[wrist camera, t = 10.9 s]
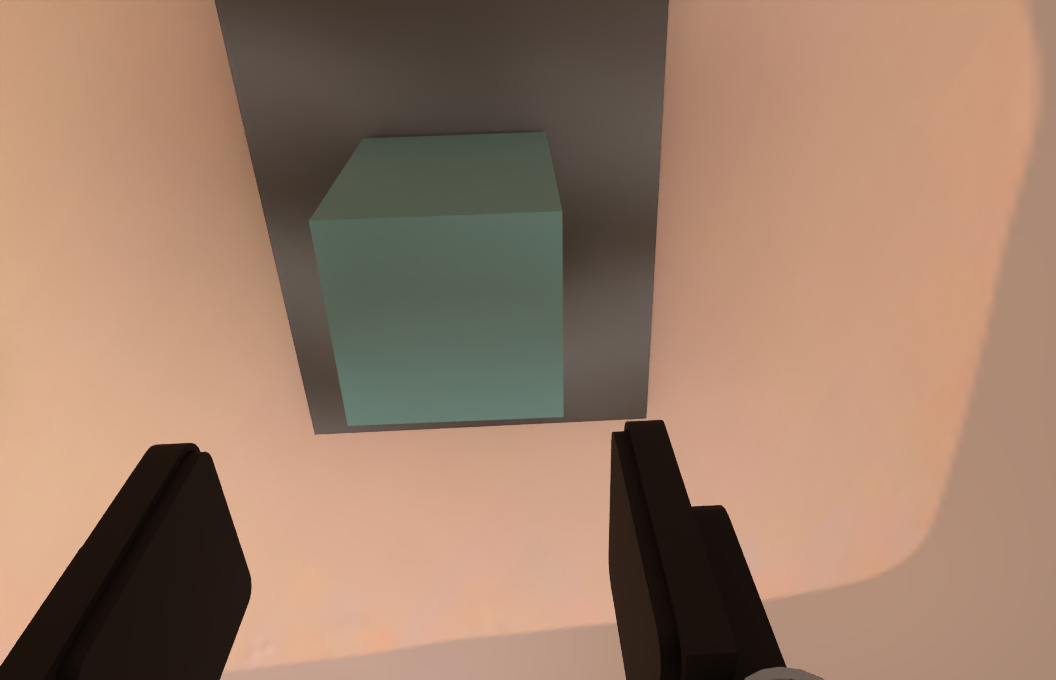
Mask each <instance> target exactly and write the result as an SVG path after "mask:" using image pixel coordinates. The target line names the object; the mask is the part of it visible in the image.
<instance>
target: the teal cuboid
mask: <svg viewBox="0 0 1056 680" xmlns="http://www.w3.org/2000/svg"><path fill="white" fill-rule="evenodd" d="M309 225H310V230H311V235H312V240H313V246H314V251H315V256H316V261H317V267H318V272H319V277H320V283H321V288H322V293H323V298H324V304H325V309H326V314H327V319H328V325H329V330H330V335H331V340H332V346H333V351H334V356H335V362H336V367H337V372H338V377H339V383H340V388H341V393H342V398H343V404H344V409H345V414H346V419H347V425H348V426H358V425H382V424H406V423H430V422H455V421H479V420H503V419H527V418H552V417H564V413H563V224H562V207H561V202H560V197H559V192H558V188H557V183H556V178H555V173H554V168H553V163H552V159H551V154H550V149H549V144H548V139H547V134H546V132H523V133H495V134H468V135H441V136H414V137H386V138H363V139H362V141H361V142H360V144H359V145H358V147H357V148H356V150H355V151H354V153H353V154H352V156H351V157H350V159H349V160H348V162H347V163H346V165H345V166H344V168H343V170H342V171H341V173H340V174H339V176H338V177H337V179H336V180H335V182H334V183H333V185H332V186H331V188H330V189H329V191H328V192H327V194H326V195H325V197H324V199H323V200H322V202H321V203H320V205H319V206H318V208H317V209H316V211H315V212H314V214H313V215H312V217H311V218H310V220H309Z"/></svg>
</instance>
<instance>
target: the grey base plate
mask: <svg viewBox="0 0 1056 680" xmlns="http://www.w3.org/2000/svg"><path fill="white" fill-rule="evenodd" d="M668 3H669V0H215V4H216V8H217V12H218V17H219V21H220V25H221V30H222V34H223V38H224V43H225V47H226V51H227V56H228V60H229V64H230V69H231V73H232V77H233V82H234V86H235V90H236V95H237V99H238V103H239V108H240V112H241V116H242V121H243V125H244V129H245V134H246V138H247V142H248V147H249V151H250V155H251V160H252V164H253V168H254V173H255V177H256V181H257V186H258V190H259V194H260V199H261V203H262V207H263V211H264V216H265V220H266V224H267V229H268V233H269V237H270V242H271V246H272V250H273V255H274V259H275V263H276V268H277V272H278V276H279V281H280V285H281V289H282V294H283V298H284V302H285V307H286V311H287V315H288V320H289V324H290V328H291V333H292V337H293V341H294V346H295V350H296V354H297V359H298V363H299V367H300V372H301V376H302V380H303V385H304V389H305V393H306V398H307V402H308V406H309V410H310V415H311V419H312V423H313V428H314V432H315V435H316V434H337V433H357V432H378V431H398V430H419V429H439V428H460V427H480V426H501V425H521V424H542V423H562V422H582V421H603V420H623V419H644V418H646V414H647V395H648V376H649V358H650V339H651V320H652V302H653V283H654V264H655V246H656V227H657V209H658V190H659V171H660V153H661V134H662V115H663V97H664V78H665V59H666V41H667V22H668ZM523 132H546V134H547V139H548V144H549V149H550V154H551V159H552V163H553V168H554V173H555V178H556V183H557V188H558V192H559V197H560V202H561V207H562V224H563V413H564V417H552V418H527V419H503V420H479V421H455V422H430V423H406V424H382V425H358V426H348V425H347V419H346V414H345V409H344V404H343V398H342V393H341V388H340V383H339V377H338V372H337V367H336V362H335V356H334V351H333V346H332V340H331V335H330V330H329V325H328V319H327V314H326V309H325V304H324V298H323V293H322V288H321V283H320V277H319V272H318V267H317V261H316V256H315V251H314V246H313V240H312V235H311V230H310V225H309V220H310V218H311V217H312V215H313V214H314V212H315V211H316V209H317V208H318V206H319V205H320V203H321V202H322V200H323V199H324V197H325V195H326V194H327V192H328V191H329V189H330V188H331V186H332V185H333V183H334V182H335V180H336V179H337V177H338V176H339V174H340V173H341V171H342V170H343V168H344V166H345V165H346V163H347V162H348V160H349V159H350V157H351V156H352V154H353V153H354V151H355V150H356V148H357V147H358V145H359V144H360V142H361V141H362V139H363V138H386V137H414V136H441V135H468V134H495V133H523Z"/></svg>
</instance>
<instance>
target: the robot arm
mask: <svg viewBox="0 0 1056 680" xmlns="http://www.w3.org/2000/svg"><path fill="white" fill-rule="evenodd" d="M609 574H610V583H611V589H612V595H613V601H614V607H615V613H616V620H617V626H618V632H619V638H620V644H621V650H622V656H623V662H624V669H625V675H626V680H824V679H823V678H821V677H819V676H816V675H814V674H811V673H808V672H805V671H803V670H801V669H793V668H787V667H786V665H785V662H784V659H783V657H782V654H781V652H780V649H779V646H778V644H777V641H776V639H775V636H774V633H773V631H772V628H771V626H770V623H769V620H768V618H767V615H766V612H765V610H764V607H763V604H762V602H761V599H760V597H759V594H758V591H757V589H756V586H755V583H754V581H753V578H752V576H751V573H750V570H749V568H748V565H747V563H746V560H745V557H744V555H743V552H742V549H741V547H740V544H739V542H738V539H737V536H736V534H735V531H734V528H733V526H732V523H731V521H730V518H729V516H728V514H727V512H726V510H725V508H724V507H723V506H722V505H714V506H694V507H691V504H690V501H689V498H688V495H687V492H686V489H685V485H684V482H683V479H682V476H681V473H680V470H679V467H678V464H677V461H676V458H675V455H674V451H673V448H672V445H671V442H670V439H669V436H668V433H667V430H666V427H665V424H664V422H663V421H662V420H649V421H629V422H626V423H625V427H624V431H621V432H612V440H611V481H610V522H609ZM250 595H251V577H250V573H249V570H248V567H247V564H246V561H245V557H244V554H243V551H242V548H241V545H240V542H239V539H238V536H237V533H236V530H235V527H234V524H233V521H232V518H231V515H230V512H229V509H228V506H227V502H226V499H225V496H224V493H223V490H222V487H221V484H220V481H219V478H218V475H217V472H216V469H215V466H214V463H213V460H212V457H211V455H210V454H209V453H207V452H200V450H199V448H198V447H197V446H196V444H193V443H180V444H159V445H153V446H151V447H150V448H149V449H148V450H147V451H146V453H145V454H144V456H143V457H142V459H141V460H140V462H139V463H138V465H137V466H136V468H135V469H134V471H133V472H132V474H131V475H130V477H129V478H128V480H127V481H126V482H125V484H124V485H123V487H122V488H121V490H120V491H119V493H118V494H117V496H116V497H115V499H114V500H113V502H112V503H111V505H110V506H109V508H108V509H107V511H106V512H105V514H104V515H103V517H102V518H101V519H100V521H99V522H98V524H97V525H96V527H95V528H94V530H93V531H92V533H91V534H90V536H89V537H88V539H87V540H86V542H85V543H84V545H83V546H82V547H81V548H80V549H79V551H78V552H77V554H76V555H75V557H74V558H73V560H72V561H71V563H70V564H69V566H68V567H67V569H66V570H65V571H64V573H63V574H62V576H61V577H60V579H59V580H58V582H57V583H56V585H55V586H54V588H53V589H52V591H51V592H50V594H49V595H48V597H47V598H46V600H45V601H44V602H43V604H42V605H41V607H40V608H39V610H38V611H37V613H36V614H35V616H34V617H33V619H32V620H31V622H30V623H29V625H28V626H27V628H26V629H25V631H24V632H23V634H22V635H21V636H20V638H19V639H18V641H17V642H16V644H15V645H14V647H13V648H12V650H11V651H10V653H9V654H8V656H7V657H6V659H5V660H4V662H3V663H2V665H1V666H0V680H220V678H221V675H222V672H223V670H224V667H225V664H226V662H227V659H228V656H229V654H230V651H231V648H232V646H233V643H234V640H235V638H236V635H237V632H238V630H239V627H240V624H241V622H242V619H243V616H244V614H245V611H246V608H247V606H248V603H249V600H250Z"/></svg>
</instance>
